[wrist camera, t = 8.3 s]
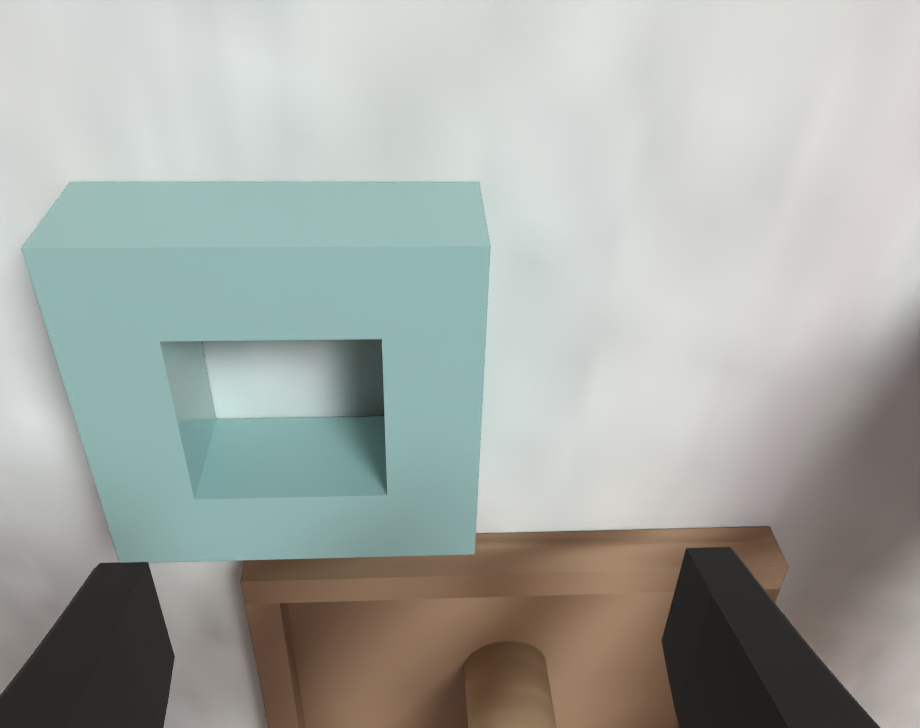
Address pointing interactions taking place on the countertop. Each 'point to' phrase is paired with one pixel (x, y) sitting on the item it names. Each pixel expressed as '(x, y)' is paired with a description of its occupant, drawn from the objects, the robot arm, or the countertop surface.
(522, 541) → the tray
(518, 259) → the countertop surface
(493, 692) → the pin
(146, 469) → the teal square ring
